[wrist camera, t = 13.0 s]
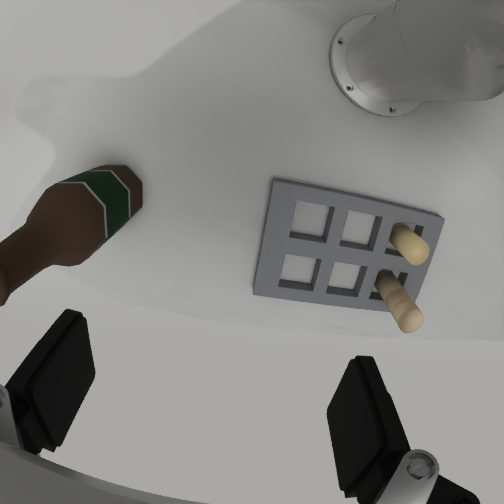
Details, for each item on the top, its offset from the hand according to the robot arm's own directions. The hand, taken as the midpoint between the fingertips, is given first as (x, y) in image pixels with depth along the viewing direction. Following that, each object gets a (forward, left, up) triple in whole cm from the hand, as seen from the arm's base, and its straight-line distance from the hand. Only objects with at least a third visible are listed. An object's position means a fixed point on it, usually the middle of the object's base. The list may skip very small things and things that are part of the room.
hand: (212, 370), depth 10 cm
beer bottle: (+12, -10, -28) cm, 32 cm away
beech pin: (-7, +21, -28) cm, 36 cm away
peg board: (-5, +14, -28) cm, 32 cm away
